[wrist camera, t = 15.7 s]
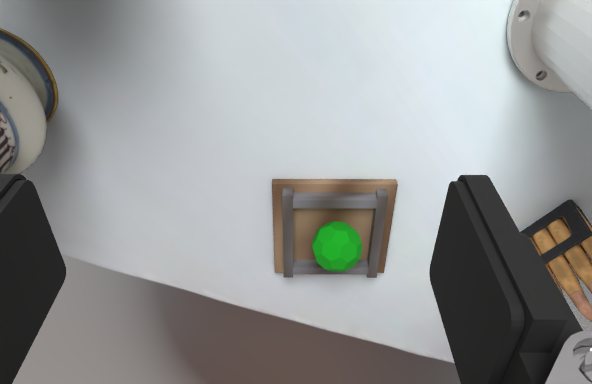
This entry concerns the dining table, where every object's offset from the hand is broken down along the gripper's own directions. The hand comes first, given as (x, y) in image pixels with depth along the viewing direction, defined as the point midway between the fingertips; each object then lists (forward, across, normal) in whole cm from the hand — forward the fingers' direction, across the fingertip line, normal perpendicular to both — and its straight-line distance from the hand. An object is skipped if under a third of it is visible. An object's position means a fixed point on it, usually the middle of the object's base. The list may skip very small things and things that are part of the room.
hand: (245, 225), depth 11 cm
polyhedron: (+30, -5, +26) cm, 40 cm away
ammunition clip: (+31, -26, +27) cm, 48 cm away
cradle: (+30, -5, +26) cm, 40 cm away
